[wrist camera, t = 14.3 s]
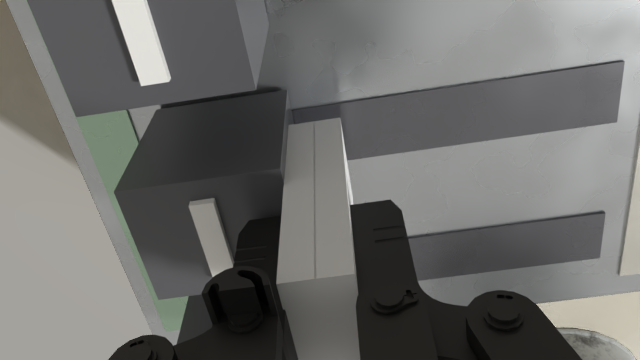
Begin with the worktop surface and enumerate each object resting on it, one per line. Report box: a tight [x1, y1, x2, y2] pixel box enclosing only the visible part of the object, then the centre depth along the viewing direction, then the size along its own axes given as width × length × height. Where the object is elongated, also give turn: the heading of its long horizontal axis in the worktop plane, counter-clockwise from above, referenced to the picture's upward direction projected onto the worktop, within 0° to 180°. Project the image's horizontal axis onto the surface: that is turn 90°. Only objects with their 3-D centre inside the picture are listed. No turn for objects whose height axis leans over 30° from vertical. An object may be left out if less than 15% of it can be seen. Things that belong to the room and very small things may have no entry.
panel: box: [6, 0, 640, 346], centre depth 19 cm, size 17×20×2 cm
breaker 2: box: [114, 90, 294, 300], centre depth 16 cm, size 4×4×5 cm
